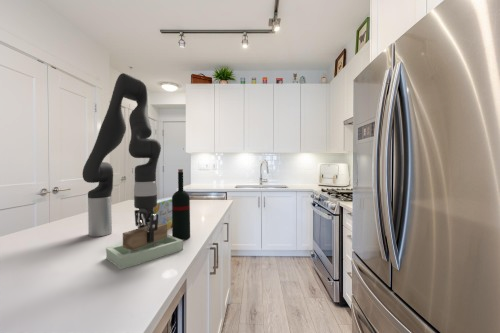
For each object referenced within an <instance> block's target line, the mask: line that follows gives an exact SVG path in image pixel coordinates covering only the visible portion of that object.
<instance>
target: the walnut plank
mask: <svg viewBox="0 0 500 333" xmlns="http://www.w3.org/2000/svg"><path fill="white" fill-rule="evenodd" d="M154 227H155V225H154ZM167 234H168V230H167V224H163V223H158V229H157V230H156V231H154V241H153V242H156V241H158V240H161V239H163V238H166V237H167ZM153 242H151V243H153ZM122 244H123V248H126V249H130V250H135V249H137V248H140V247H142V246H145V245H148V244H150V243H148V242H147V230H146V227H142V228H138V227H137V228H136V229H131V230H129V231H125V232H123V233H122Z"/></svg>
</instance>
